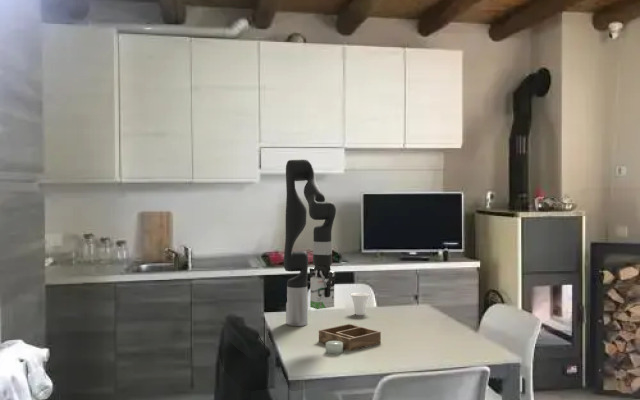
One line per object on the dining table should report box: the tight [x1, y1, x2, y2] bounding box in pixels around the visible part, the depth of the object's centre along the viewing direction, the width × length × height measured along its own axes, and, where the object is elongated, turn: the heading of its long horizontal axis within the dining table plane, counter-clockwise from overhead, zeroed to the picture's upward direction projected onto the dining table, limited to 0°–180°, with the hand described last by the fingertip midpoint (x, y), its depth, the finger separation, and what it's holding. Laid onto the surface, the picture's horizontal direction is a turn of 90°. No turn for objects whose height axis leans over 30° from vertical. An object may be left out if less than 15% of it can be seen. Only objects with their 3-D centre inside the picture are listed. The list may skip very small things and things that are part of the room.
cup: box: [350, 292, 371, 316], centre depth 281 cm, size 9×9×10 cm
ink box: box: [309, 277, 335, 310], centre depth 226 cm, size 9×5×12 cm, turn 122°
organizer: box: [318, 323, 382, 352], centre depth 230 cm, size 18×17×4 cm
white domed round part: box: [325, 341, 344, 355], centre depth 217 cm, size 6×6×4 cm
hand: (322, 295), depth 226 cm, fingers closed on ink box, 5 cm apart
